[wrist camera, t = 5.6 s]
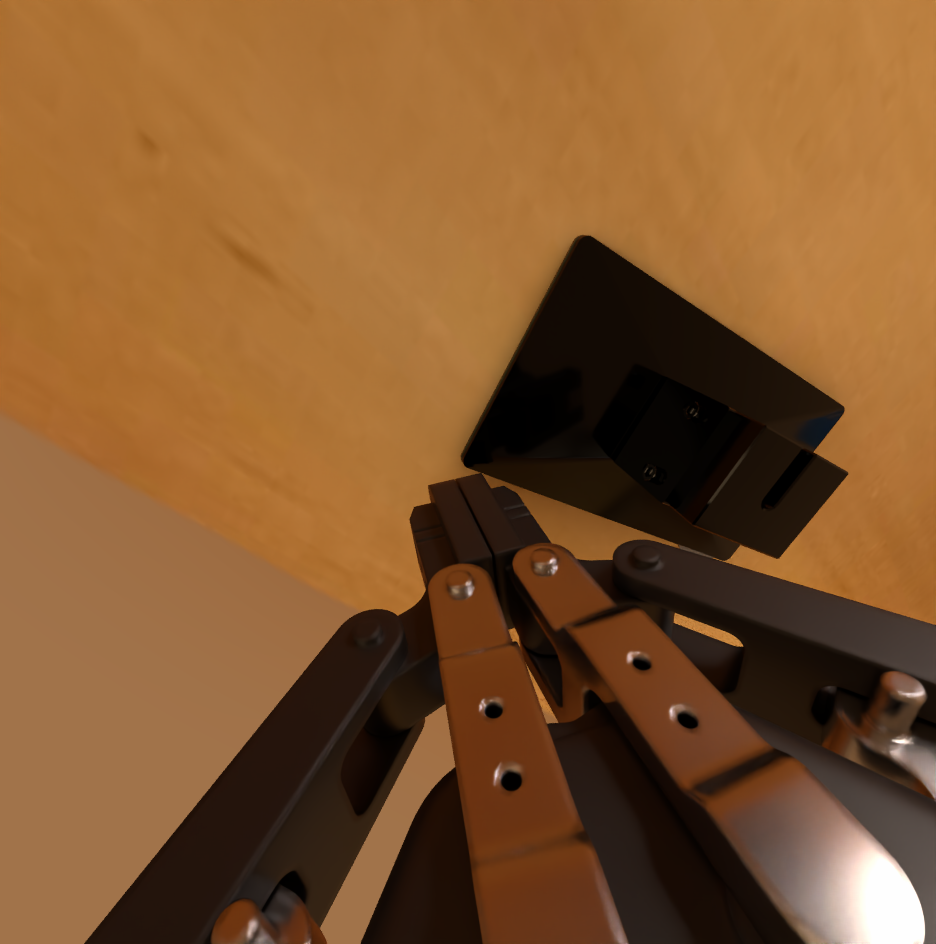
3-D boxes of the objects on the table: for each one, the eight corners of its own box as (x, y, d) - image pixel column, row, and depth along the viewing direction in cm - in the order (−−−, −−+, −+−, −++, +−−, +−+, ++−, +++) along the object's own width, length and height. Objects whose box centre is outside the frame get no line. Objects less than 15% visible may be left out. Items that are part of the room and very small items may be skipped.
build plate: (836, 404, 18) (983, 460, 14) (714, 560, 20) (811, 646, 16) (578, 230, 13) (696, 240, 9) (452, 468, 15) (502, 561, 11)
